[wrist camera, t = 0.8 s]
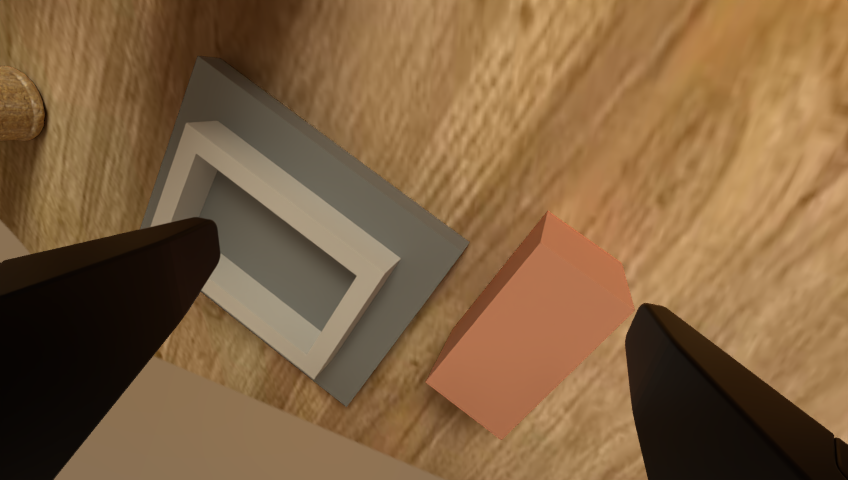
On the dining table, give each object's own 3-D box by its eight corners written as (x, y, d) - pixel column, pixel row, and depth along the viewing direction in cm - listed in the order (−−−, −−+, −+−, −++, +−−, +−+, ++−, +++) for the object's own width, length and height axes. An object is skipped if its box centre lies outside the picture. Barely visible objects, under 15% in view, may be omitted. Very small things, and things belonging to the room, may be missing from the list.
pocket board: (469, 242, 22) (451, 267, 19) (358, 391, 27) (329, 430, 24) (219, 58, 23) (163, 52, 20) (157, 233, 28) (104, 250, 25)
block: (548, 210, 20) (540, 242, 16) (621, 262, 20) (635, 310, 16) (453, 327, 24) (425, 382, 19) (515, 373, 23) (501, 440, 19)
